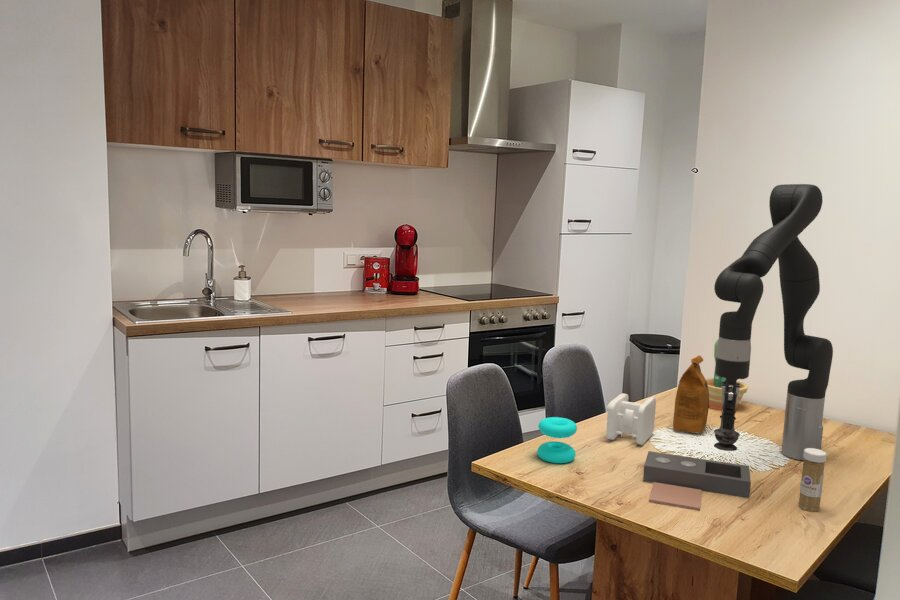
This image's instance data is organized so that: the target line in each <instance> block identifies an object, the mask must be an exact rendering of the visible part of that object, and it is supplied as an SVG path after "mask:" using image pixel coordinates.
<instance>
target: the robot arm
mask: <svg viewBox="0 0 900 600" xmlns="http://www.w3.org/2000/svg"><path fill="white" fill-rule="evenodd" d="M768 203H769V204H768V205H769V206H768V207H769V213H770V214H769V215H770V219H771V224H772V227H769V229H767V230H765V231H763V232H762V233H760V234H759V235H758V236H756V237H755V238H754V239H753V240H752V241H751V242H750V244H749V245H748V247H747V248H746V250H745V251H744V252H743V254H742V255H741V257H739V258H738V259H735V261H733V262H731V264H729V265H728V266H727V267H725V268H724V269H723V270H722V271H721V272H720V273H719V274H718V276H717V277H716V279H715V282H714V293H715V295H716V297H717V298H718V299H720V300H722V301H725V302H731V303H737V304H739V303H740V304H739V307H738V308H737V310H736V311H735V310H734V311H726V312H723V313H722V314H721V315H720V319H719V329H718V339H717V340H718V343H717V351H716V363H715V365H714V372H715V374H716V375H717V376H720V377H724V378H726V379H725V381H724V382H722V403H723V404H724V409H723V414H724V415H723V429H726V430H732V428H733V416H734V414H735V415H736V410H735V405H736V406H737V405H738V404H737V402H738V393H739V391H740V386H739V385H740V383H736V381H738V380H745V379H748V377H749V376H750V367H751V366H750V364H751V354H752V353H751V351H752V345H751V344H752V343H751V341H752V340H751V339H752V329H753V321H754V318H755V315H756V312H757V309H758V306H759V304H760V302H761V300H762V297H763V294H764V282H763V280H762V278H764V277H765V276H766V275H767V274H768V273H769V272H770V271H771V269H772V267H773V266H774V264H775V263H776V261H777V260H778V272H779V282H780V283H779V284H780V293H781V299H782V301H781V302H782V310H783V352H784V354H783V355H784V359H785V361H786V363H787V365H789V366H790V367H793V368H797V369H800V370H801V369H802V370H805V371H808V375H807V377H805V378H803V379H794V380H791V381H789V382H788V384H787V393H786V401H785V411H784V423H783V431H782V441H781V442H782V443H781V454H782V455H783V456H785V457H787V458H790V459H793V460H799V461H804V457H803V454H804V450H805V449H806V448H815V449H819V450H822V442H823V433H824V426H823V418H824V411H825V410H824V409H825V400H826V392H827V389H828V386H829V382H830V374H831V368H832V363H833V357H834V347H833V344H832V342H831V340H830V339H827V338H824V337H819V336H814V335H813V336H812V335H809V334H808V335H807V334H806V333H805V330H804V329H805V328H804V322H805V317H806V316H807V314H808V312H809V310H810V309H811V308H812V306H813V305H814V303H815V302H816V301H817V299H818V297H819V294H820V293H821V292H820V291H821V287H820V286H821V284H820V272H819V266H818V264H817V262H816V260H815V259H814V258H813V256H812V254H811V253H810V252H809V251H808V249H807V248H806V246H804V245H803V242H802V241H801V240H800V239H799V237H798V236H799V235H800V234H801V233H802V232H804V230H806V228H807V227H808V226H810V225H811V223H812V222H813V221H814V220H816V218H817V217H818V216H819V213H820V212H821V209H822V207H823V194H822V191H821V189H820V188H819V186H817V185H815V184H809V183H807V184H806V183H804V184H803V183H798V184H795V183H792V184H778V185H775V186H774V187H773V188H772V190H771V192H770V195H769V202H768ZM726 406H732V407H733V408H732V409H728V408H726Z"/></svg>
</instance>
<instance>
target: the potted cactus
mask: <svg viewBox="0 0 900 600" xmlns="http://www.w3.org/2000/svg"><path fill="white" fill-rule="evenodd" d="M717 343H718V339H717V340H716V341H715V342H714V349H713V351H714V353H713V356H714V363H715V364H716V351H717ZM705 379H706V381H707V384H708V389H709V408H710V409H714V410H716V411H717V410H718V411H722V407H723V403H722V382H724V381H725V379H726V378H724V377H720V376H717V375H716V374H715V371H714V373H713V378H712V377H711V378H705ZM736 383H740V385H739V386H740V391H739V393H738V402H737V405H738V404H739V403H740V402H741V400H742V398H743V397H744V394H746V393H747V392H748V389H749V387H750V386H749V385H747V384H745V383H744V382H740V381H738V380H737V381H736ZM737 405H735V411H736V410H737Z"/></svg>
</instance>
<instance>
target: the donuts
mask: <svg viewBox="0 0 900 600" xmlns="http://www.w3.org/2000/svg"><path fill="white" fill-rule="evenodd" d="M538 430H539V431H540V432H541V434H543V435H544V436H546V437H549V438H554V439H565V438H567V439H568V438H571V437H572V436H574V435H575V434H576V432H577V431H578V425H577V424H576V422H574V421H573V420H571V419H569V418H565V417H561V416H560V417H559V416H551V417H545V418H543V419H541V420H540V421H539V422H538ZM536 453H537V455H538V457H539V459H541V460H542V461H545V462H547V463H551V464H566V463H570V462H572V461H573V460H575V457H576V451H575V449H574V447H572V445H570V444H568V443H566V442H562V441H557V440H555V441H546V442H543V443H542V444H540V445H539V446H538V447H537V451H536Z"/></svg>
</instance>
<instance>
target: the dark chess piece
mask: <svg viewBox="0 0 900 600" xmlns="http://www.w3.org/2000/svg"><path fill="white" fill-rule="evenodd" d="M726 408H728V409H732V408H733V407H732V406H726ZM723 409H724V404H723V407H722V410H721V415H720V416H719V418H720V426H719V428H717V429H714V430H713V433H714V437H715V439H716V441H717V442H716V443H714V444H713V447H714V448H716V449H718V450H720V451H725V452H726V451H727V452H736V451H737V450H738V447H737V446H736V445H735V443H737V441H738V440H739V437H740V436H741V434H740V432H738V431H736V430H735V421H736V420H737V418H736V416H735V415H736V413H735V414H734V416H733V428H732V430H726V429H723V415H724V414H723Z"/></svg>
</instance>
